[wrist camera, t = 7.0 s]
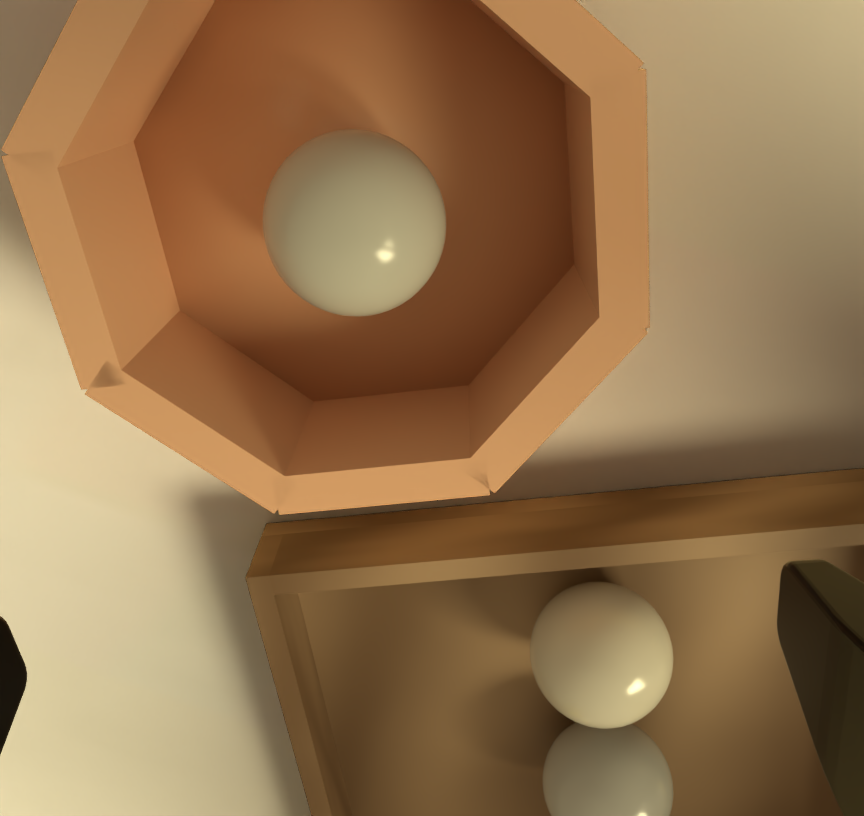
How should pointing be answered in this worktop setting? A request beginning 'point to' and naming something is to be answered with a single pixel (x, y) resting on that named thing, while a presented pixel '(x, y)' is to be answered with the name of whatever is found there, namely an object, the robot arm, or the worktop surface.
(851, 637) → the robot arm
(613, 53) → the bowl
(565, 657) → the pebble
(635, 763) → the pebble
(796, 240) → the worktop surface
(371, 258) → the pebble
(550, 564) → the tray
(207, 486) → the worktop surface
